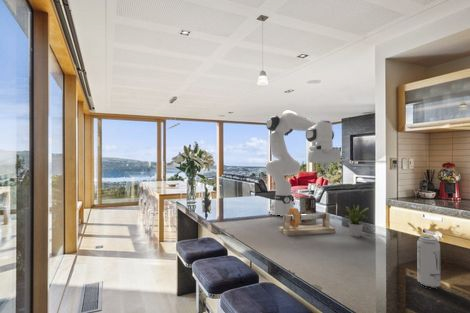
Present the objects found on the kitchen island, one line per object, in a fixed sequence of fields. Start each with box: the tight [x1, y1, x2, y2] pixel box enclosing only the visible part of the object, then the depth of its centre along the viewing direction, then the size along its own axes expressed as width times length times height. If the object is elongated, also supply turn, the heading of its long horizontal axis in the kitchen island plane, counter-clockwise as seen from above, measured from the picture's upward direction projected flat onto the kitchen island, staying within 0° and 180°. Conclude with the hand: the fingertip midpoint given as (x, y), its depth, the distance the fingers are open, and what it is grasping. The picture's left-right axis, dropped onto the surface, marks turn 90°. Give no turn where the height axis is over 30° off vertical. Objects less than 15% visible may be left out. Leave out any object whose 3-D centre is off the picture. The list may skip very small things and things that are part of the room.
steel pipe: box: [284, 212, 326, 221], centre depth 156 cm, size 3×26×3 cm, turn 104°
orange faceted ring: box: [288, 207, 301, 228], centre depth 155 cm, size 10×2×10 cm, turn 14°
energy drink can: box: [416, 235, 441, 288], centre depth 90 cm, size 6×6×15 cm
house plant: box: [345, 203, 369, 238], centre depth 147 cm, size 14×14×16 cm
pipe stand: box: [278, 212, 336, 237], centre depth 156 cm, size 12×28×10 cm, turn 104°
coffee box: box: [299, 196, 317, 225], centre depth 175 cm, size 9×6×16 cm
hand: (324, 170), depth 170 cm, fingers closed
